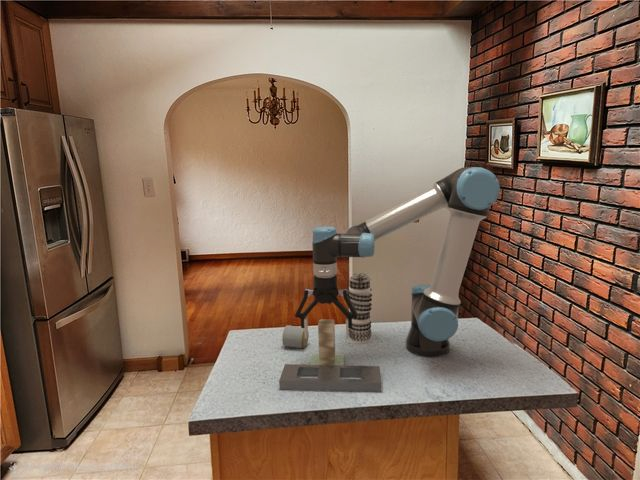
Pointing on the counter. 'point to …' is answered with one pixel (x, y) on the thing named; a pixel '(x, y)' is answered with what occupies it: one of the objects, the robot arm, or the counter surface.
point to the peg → (326, 341)
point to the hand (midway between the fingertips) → (326, 337)
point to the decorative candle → (360, 307)
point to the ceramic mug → (294, 337)
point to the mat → (338, 359)
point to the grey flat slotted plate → (331, 378)
